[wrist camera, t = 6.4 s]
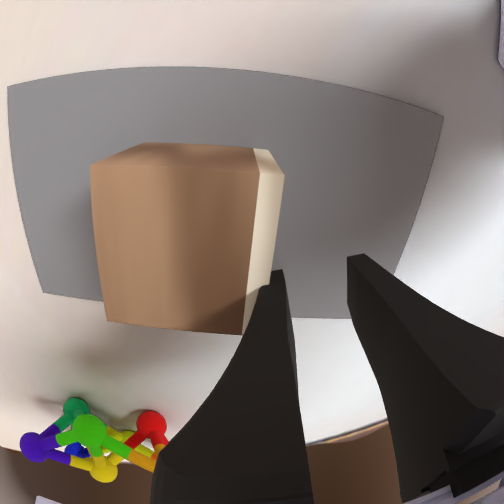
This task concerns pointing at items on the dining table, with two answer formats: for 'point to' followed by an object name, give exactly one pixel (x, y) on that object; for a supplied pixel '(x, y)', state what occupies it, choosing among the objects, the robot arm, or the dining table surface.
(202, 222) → the walnut cube
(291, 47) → the dining table surface
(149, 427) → the decorative model
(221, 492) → the robot arm
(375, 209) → the mat
